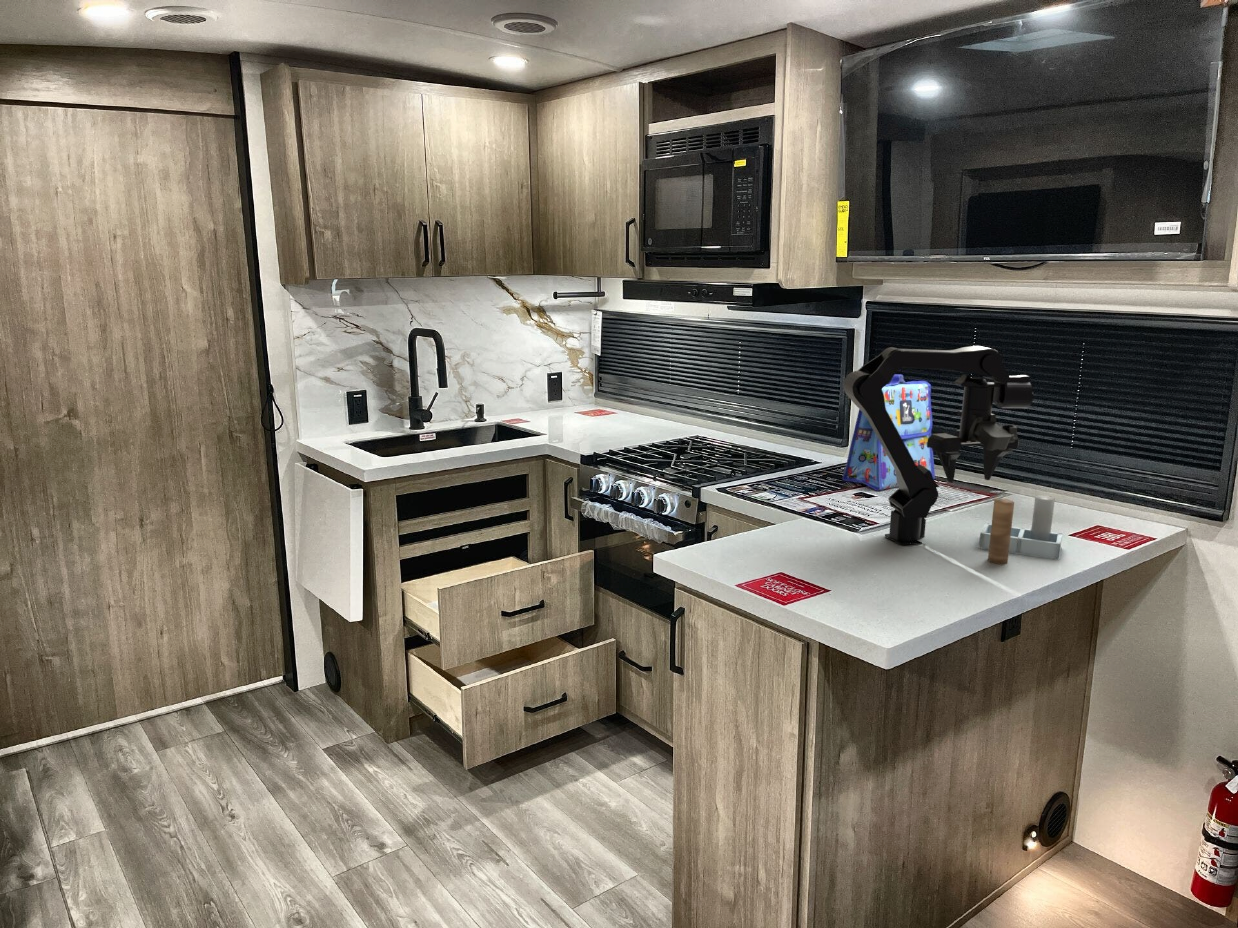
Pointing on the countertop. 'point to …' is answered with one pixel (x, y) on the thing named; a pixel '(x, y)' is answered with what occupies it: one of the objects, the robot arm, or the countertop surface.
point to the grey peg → (1042, 518)
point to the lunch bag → (912, 423)
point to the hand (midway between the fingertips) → (968, 481)
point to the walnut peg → (1000, 531)
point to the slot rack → (1026, 543)
